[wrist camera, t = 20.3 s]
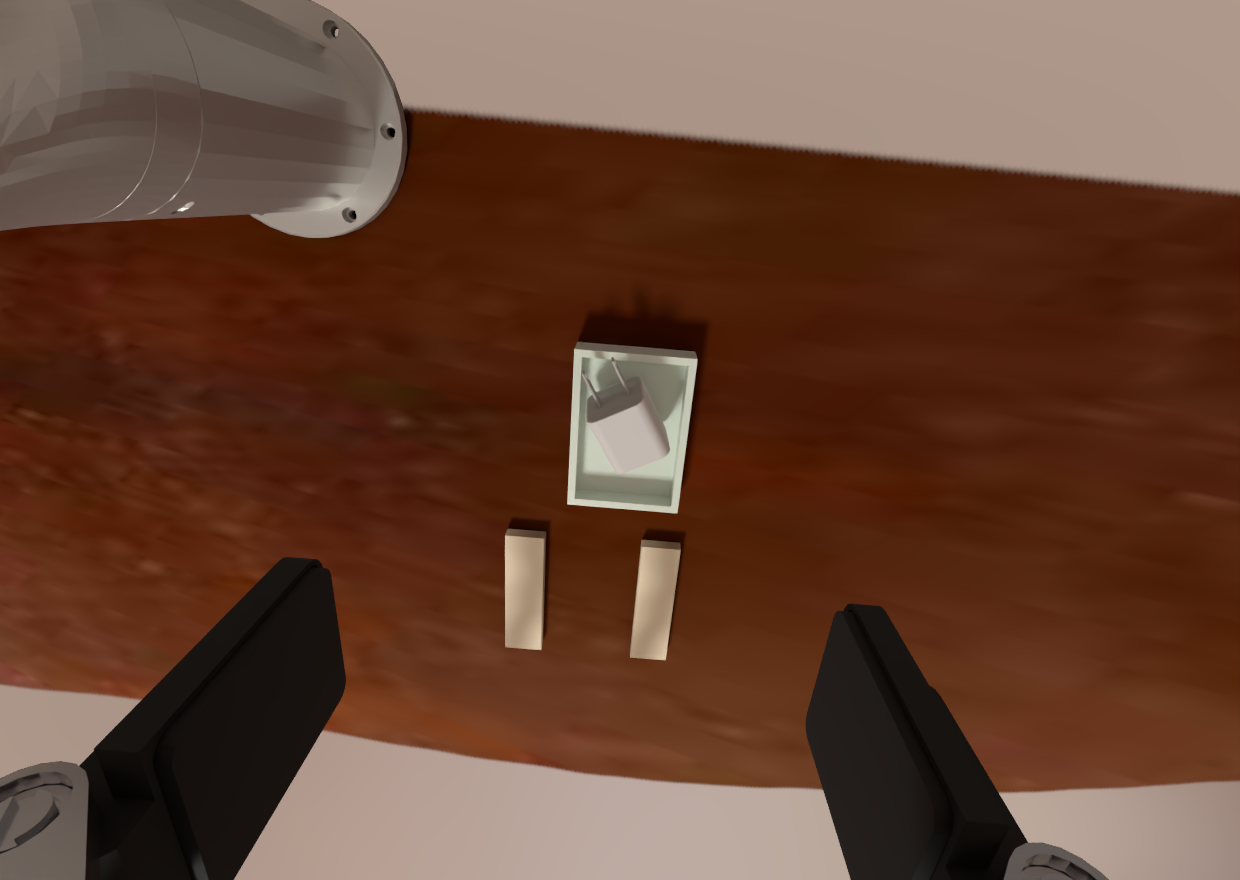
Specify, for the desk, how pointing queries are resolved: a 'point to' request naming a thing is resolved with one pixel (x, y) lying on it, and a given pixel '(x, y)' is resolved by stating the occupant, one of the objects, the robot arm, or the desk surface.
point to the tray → (672, 397)
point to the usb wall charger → (626, 423)
